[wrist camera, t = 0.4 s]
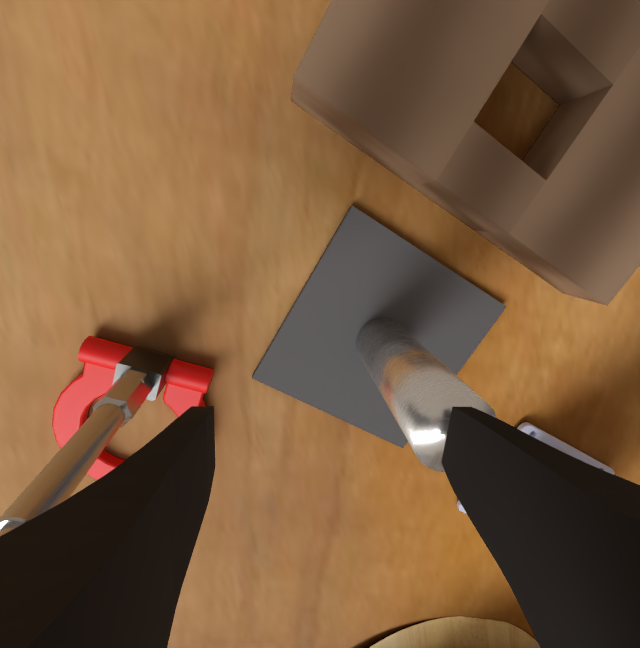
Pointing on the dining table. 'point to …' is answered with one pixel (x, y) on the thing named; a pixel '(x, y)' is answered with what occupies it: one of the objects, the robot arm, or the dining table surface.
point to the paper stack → (459, 635)
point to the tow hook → (103, 417)
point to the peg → (414, 386)
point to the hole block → (479, 146)
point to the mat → (359, 308)
